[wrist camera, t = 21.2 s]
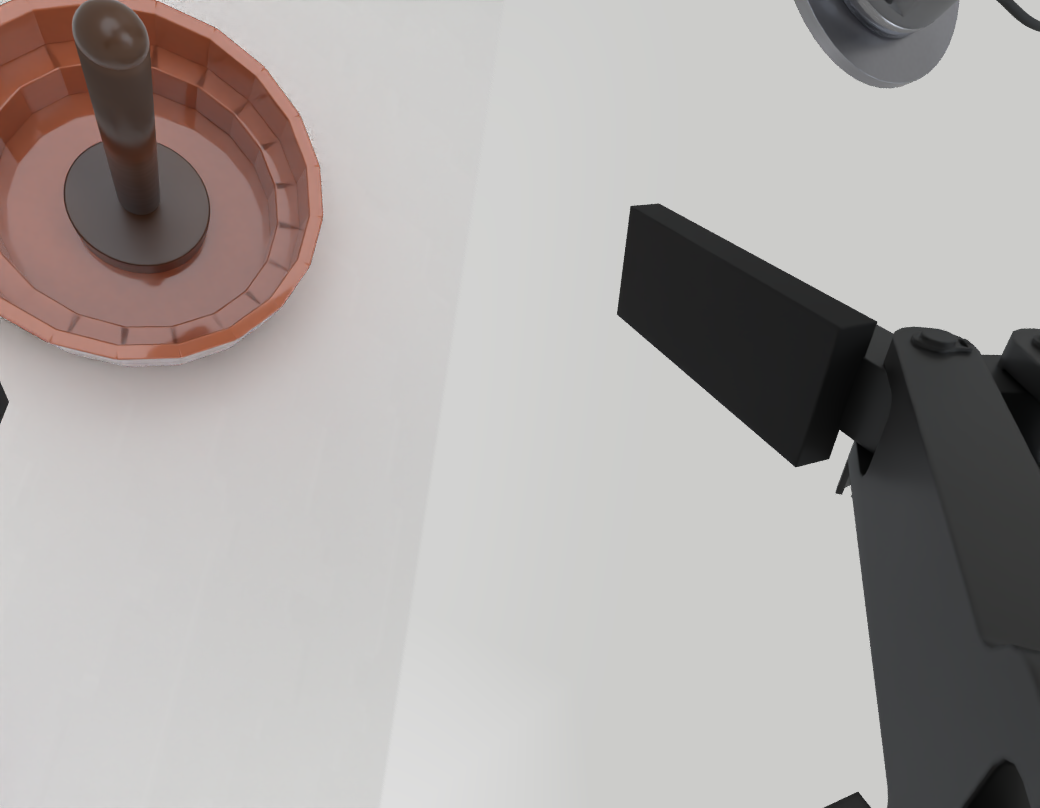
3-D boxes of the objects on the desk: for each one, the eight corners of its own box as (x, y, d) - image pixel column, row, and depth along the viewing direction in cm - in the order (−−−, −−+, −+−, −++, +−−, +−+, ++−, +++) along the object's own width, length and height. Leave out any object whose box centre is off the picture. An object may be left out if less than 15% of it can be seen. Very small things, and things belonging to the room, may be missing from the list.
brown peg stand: (179, 140, 32) (185, -116, 16) (227, 254, 33) (276, 117, 17) (47, 166, 30) (-98, -103, 14) (101, 289, 31) (25, 166, 15)
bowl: (234, 39, 34) (246, -29, 29) (341, 312, 36) (370, 296, 31) (-115, 89, 28) (-183, 15, 23) (39, 412, 30) (11, 413, 25)
